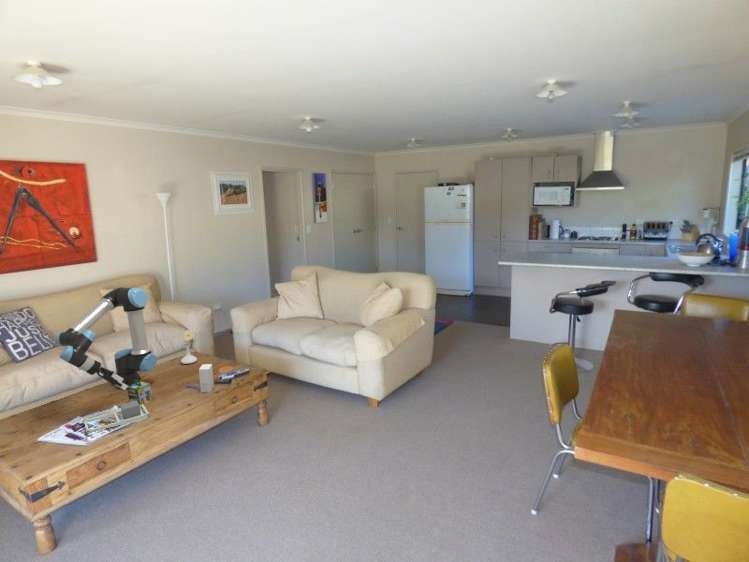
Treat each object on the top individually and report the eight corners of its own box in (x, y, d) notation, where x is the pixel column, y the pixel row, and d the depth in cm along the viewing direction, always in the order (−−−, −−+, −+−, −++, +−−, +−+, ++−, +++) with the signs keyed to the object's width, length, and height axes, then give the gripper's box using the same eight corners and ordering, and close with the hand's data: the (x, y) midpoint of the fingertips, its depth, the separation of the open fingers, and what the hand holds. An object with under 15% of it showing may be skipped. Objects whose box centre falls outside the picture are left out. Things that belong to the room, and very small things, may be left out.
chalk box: (153, 401, 273) (150, 377, 270) (140, 407, 264) (136, 383, 262) (142, 398, 276) (139, 375, 274) (129, 405, 268) (125, 381, 265)
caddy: (87, 436, 233) (87, 431, 233) (84, 425, 245) (83, 420, 245) (149, 418, 251) (149, 413, 250) (143, 409, 262) (143, 404, 262)
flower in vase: (177, 364, 332) (173, 331, 328) (188, 359, 343) (184, 326, 338) (191, 366, 328) (188, 332, 323) (202, 360, 338) (199, 328, 334)
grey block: (124, 421, 246) (123, 409, 245) (122, 416, 253) (120, 404, 251) (141, 417, 251) (139, 405, 250) (138, 411, 257) (136, 400, 256)
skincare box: (204, 387, 290) (201, 364, 288) (215, 386, 291) (212, 363, 288) (200, 393, 282) (198, 369, 279) (211, 392, 283) (209, 368, 280)
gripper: (82, 365, 260) (115, 383, 271) (87, 378, 240) (123, 397, 252) (92, 354, 262) (124, 372, 274) (98, 366, 242) (133, 385, 254)
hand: (124, 384), depth 263 cm, fingers open, 13 cm apart
